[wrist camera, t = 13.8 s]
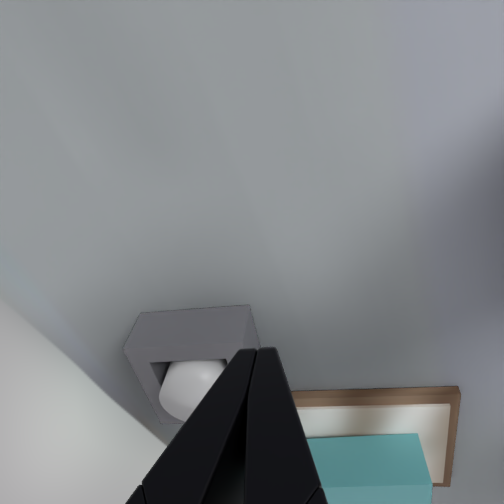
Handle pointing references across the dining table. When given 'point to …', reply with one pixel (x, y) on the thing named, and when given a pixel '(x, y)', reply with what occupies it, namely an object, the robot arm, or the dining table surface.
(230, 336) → the button base
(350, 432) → the wooden picture frame
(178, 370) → the button
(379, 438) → the teal and white bar
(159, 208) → the dining table surface
